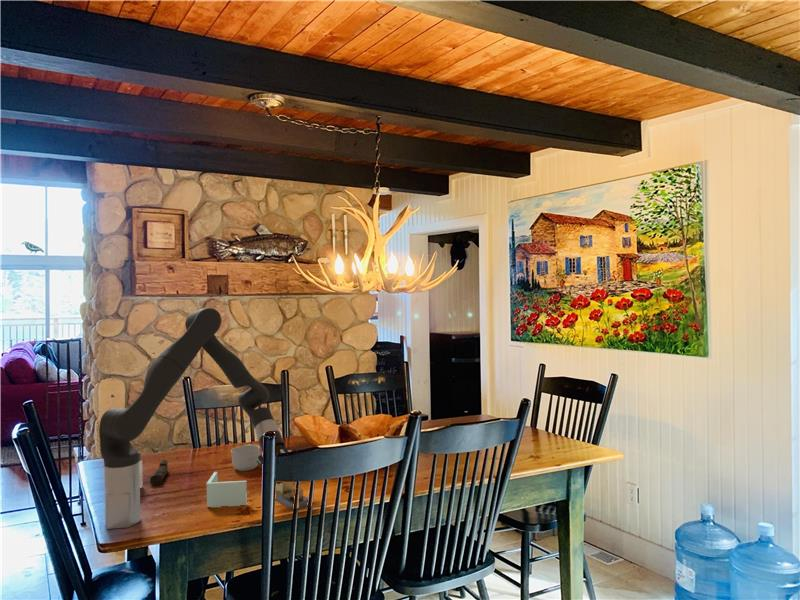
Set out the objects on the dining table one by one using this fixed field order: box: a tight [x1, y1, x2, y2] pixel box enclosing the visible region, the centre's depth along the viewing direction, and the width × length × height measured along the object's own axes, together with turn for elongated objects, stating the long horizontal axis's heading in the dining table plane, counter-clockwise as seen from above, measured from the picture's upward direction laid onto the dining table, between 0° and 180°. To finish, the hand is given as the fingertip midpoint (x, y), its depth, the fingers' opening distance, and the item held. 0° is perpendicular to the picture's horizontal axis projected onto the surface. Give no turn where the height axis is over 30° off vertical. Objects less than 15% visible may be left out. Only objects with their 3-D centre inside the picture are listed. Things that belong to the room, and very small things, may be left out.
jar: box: [137, 450, 143, 489], centre depth 199 cm, size 9×8×12 cm
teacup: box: [230, 443, 261, 472], centre depth 221 cm, size 14×11×8 cm
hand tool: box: [149, 459, 168, 486], centre depth 211 cm, size 19×4×5 cm, turn 10°
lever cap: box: [275, 481, 294, 495], centre depth 186 cm, size 5×4×9 cm
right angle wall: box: [205, 471, 248, 508], centre depth 186 cm, size 12×12×8 cm
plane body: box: [275, 488, 308, 511], centre depth 183 cm, size 14×6×5 cm, turn 39°
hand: (286, 480), depth 185 cm, fingers open, 4 cm apart
